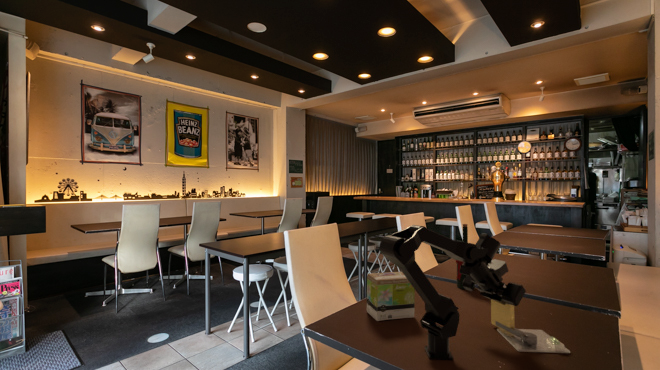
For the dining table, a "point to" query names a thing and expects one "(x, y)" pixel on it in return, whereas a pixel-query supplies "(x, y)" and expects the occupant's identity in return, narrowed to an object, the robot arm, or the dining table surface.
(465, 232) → the wine bottle
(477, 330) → the dining table surface
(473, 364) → the dining table surface
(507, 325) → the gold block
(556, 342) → the plate
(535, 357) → the dining table surface
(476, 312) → the dining table surface
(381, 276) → the tea box
